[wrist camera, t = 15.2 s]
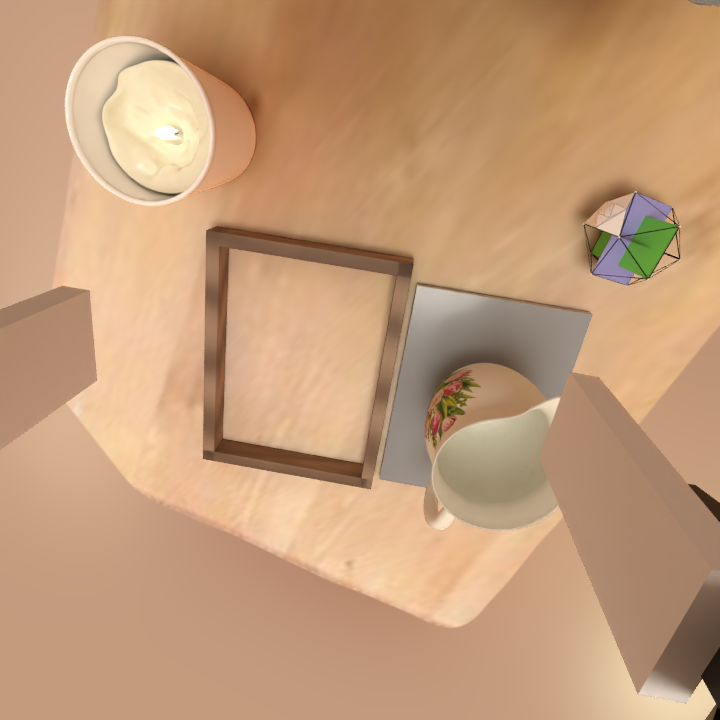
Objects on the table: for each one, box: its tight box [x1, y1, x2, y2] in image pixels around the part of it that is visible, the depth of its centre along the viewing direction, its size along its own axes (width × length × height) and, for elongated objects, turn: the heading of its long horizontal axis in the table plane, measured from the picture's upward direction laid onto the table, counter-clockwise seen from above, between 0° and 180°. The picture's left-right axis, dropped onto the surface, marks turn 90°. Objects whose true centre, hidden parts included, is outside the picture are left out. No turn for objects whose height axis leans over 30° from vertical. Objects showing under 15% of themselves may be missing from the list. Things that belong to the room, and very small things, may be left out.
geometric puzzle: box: [583, 191, 681, 286], centre depth 39 cm, size 7×7×8 cm
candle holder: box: [65, 35, 256, 206], centre depth 36 cm, size 10×10×12 cm
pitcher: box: [424, 363, 561, 531], centre depth 42 cm, size 11×18×14 cm, turn 151°
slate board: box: [380, 283, 592, 488], centre depth 49 cm, size 22×16×1 cm
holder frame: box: [203, 227, 413, 489], centre depth 48 cm, size 24×18×2 cm
